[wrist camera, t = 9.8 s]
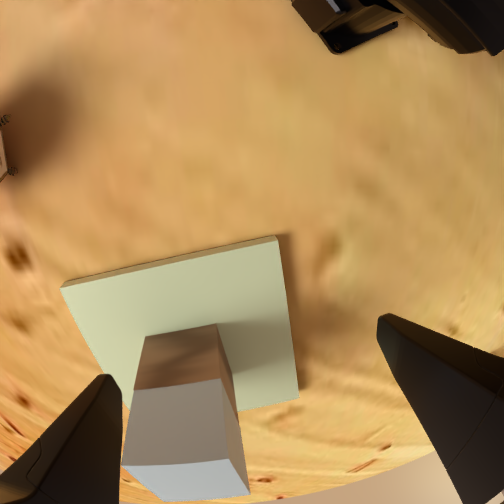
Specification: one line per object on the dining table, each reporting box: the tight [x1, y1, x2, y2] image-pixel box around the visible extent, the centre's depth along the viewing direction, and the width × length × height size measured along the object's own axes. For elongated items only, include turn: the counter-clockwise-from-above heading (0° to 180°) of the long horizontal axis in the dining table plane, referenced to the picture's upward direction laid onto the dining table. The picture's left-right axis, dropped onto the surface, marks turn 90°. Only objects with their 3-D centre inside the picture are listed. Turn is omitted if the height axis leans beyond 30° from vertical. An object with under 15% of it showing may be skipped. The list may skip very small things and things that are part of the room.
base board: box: [59, 235, 299, 412], centre depth 23 cm, size 16×16×1 cm
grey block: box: [121, 378, 251, 502], centre depth 15 cm, size 6×6×6 cm
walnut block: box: [133, 323, 239, 424], centre depth 20 cm, size 6×6×6 cm
